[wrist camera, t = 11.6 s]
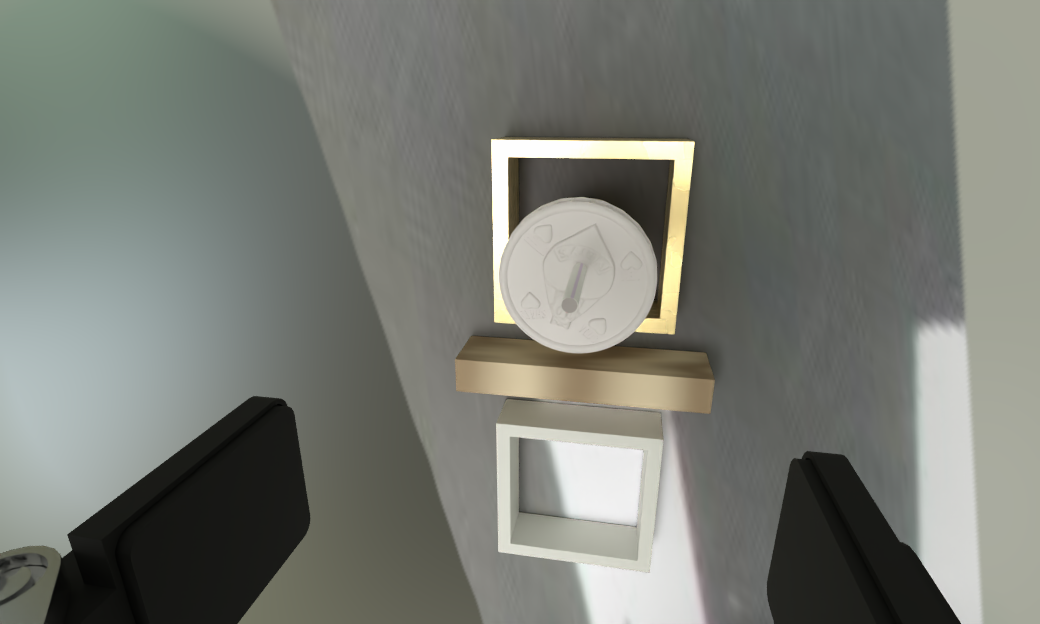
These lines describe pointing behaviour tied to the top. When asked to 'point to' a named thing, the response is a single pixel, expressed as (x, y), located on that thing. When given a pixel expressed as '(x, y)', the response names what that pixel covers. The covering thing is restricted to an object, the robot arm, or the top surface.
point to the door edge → (587, 374)
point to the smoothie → (578, 275)
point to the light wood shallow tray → (612, 148)
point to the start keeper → (572, 535)
